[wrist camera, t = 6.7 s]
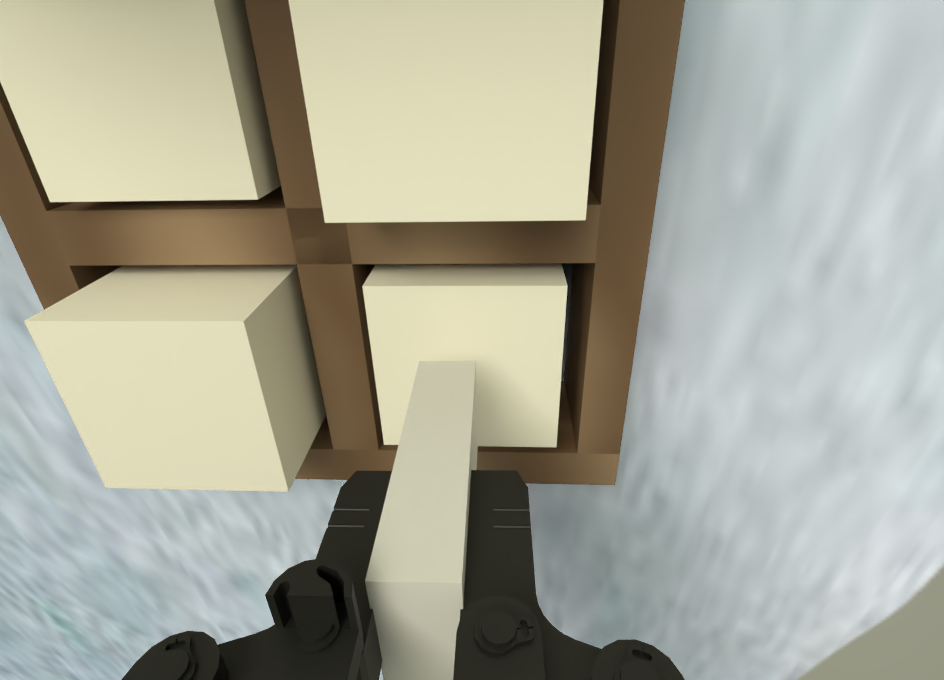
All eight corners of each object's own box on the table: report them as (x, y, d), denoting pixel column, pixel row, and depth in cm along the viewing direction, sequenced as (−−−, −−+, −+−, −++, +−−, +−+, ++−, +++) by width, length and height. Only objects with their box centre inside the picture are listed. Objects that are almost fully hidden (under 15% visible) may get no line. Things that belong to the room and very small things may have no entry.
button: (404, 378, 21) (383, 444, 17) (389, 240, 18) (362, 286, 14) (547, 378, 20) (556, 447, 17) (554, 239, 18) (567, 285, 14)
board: (184, 404, 23) (120, 475, 19) (-4, -126, 14) (-188, -189, 11) (595, 409, 22) (614, 485, 18) (658, -159, 13) (719, -245, 10)
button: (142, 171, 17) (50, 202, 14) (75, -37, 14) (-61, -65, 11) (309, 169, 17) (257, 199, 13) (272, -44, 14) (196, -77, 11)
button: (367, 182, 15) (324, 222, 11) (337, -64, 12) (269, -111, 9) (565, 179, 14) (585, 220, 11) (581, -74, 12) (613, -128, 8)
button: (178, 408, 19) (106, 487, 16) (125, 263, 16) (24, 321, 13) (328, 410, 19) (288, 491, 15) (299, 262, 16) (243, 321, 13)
